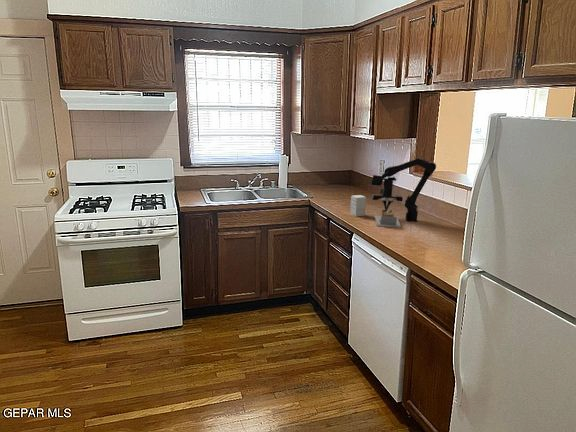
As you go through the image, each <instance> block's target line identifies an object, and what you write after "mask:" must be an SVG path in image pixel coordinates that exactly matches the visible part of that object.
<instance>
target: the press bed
mask: <svg viewBox="0 0 576 432" xmlns="http://www.w3.org/2000/svg"><path fill="white" fill-rule="evenodd" d="M374 220H375V221H374V222H375V226H376V227H382V228H383V227H385V228H387V227H388V228H401V224H400V221H399V219H398V217H397V216H394V217H389V216H382V215H374Z"/></svg>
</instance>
